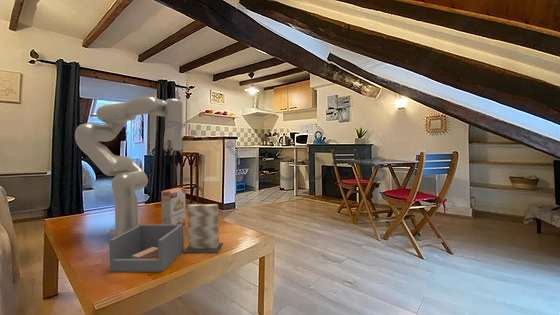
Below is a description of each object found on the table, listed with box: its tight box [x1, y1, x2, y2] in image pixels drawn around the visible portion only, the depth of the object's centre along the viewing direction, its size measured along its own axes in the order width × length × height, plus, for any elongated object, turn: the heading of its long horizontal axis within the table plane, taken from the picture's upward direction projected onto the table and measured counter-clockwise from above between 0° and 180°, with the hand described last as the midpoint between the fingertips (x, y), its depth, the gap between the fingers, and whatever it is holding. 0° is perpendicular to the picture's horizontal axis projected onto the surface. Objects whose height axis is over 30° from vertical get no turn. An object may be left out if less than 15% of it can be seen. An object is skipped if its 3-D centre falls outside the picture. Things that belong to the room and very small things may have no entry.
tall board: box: [187, 203, 220, 249], centre depth 111 cm, size 12×3×18 cm, turn 89°
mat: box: [182, 242, 224, 254], centre depth 111 cm, size 14×10×1 cm
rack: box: [108, 224, 185, 273], centre depth 100 cm, size 18×19×11 cm
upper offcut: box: [132, 247, 159, 259], centre depth 97 cm, size 9×4×2 cm, turn 157°
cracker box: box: [160, 187, 186, 226], centre depth 143 cm, size 14×6×21 cm, turn 168°
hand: (174, 163), depth 121 cm, fingers open, 9 cm apart
